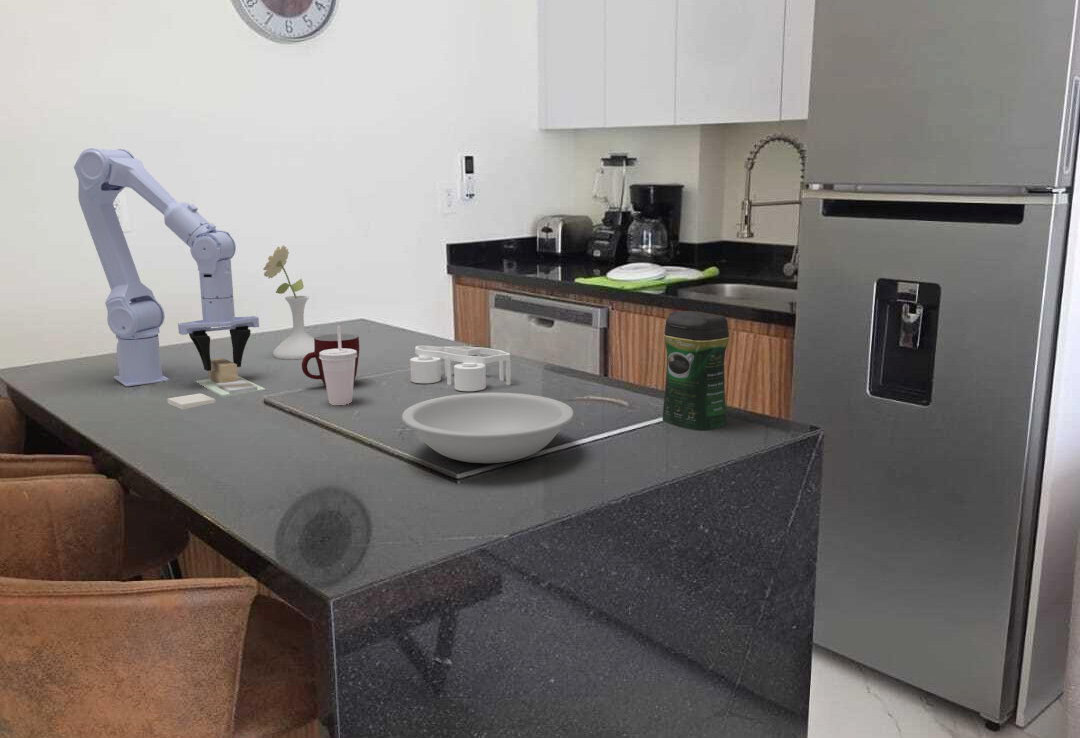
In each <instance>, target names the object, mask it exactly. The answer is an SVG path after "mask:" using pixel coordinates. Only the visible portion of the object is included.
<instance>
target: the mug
mask: <svg viewBox="0 0 1080 738" xmlns="http://www.w3.org/2000/svg"><path fill="white" fill-rule="evenodd" d="M313 338H314V352H311V353H308V354H307V355H306V356H305V357H304V359H302V362H301V370H302V372H303V374H304V375H305V376H306V377H308V378H310V379H312V380H321V381H322V383H323V384H324V386H325V387H326V382H325V377H324V371H323V366H322V360H321V359H319V357H320V355H319V353H320V352H321V351H323V350H328V349H338V333H329V334H327V333H326V334H322V335H321V334H320V335H317V336H315V337H313ZM341 346H342V348H346V349H354V350H356V351H357V357H356V358H355V370H354V381H355V380H356V377H357V373H358V372H357V371H358V364H359V357H360V337H359V335H357V334H352V333H341ZM311 359H316V364H317V367H318V371H319V372H318V373H319V374H312V373H311V372H310V371H309V370H308V364H309V362H310V360H311Z"/></svg>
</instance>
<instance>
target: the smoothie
mask: <svg viewBox="0 0 1080 738" xmlns="http://www.w3.org/2000/svg"><path fill="white" fill-rule="evenodd" d="M341 327H342V326H341V325H337V326H336V328H337V329H336V330H337V334H338V349H328V350H323V351H321V352H320V353H319V355H320V357H319V359H321V360H322V366H323V371H324V377H325V382H326V386H325V388H326V393H327V398H328V404H329V403H330V404H332V405H343V406H347V405H346V404H348V405H350V404H349V403H351V402H352V403H353V394H354V384H355V383H354V382H355V380H354V370H355V358H356V357H357V351H356V350H354V349H346V348H342V346H341V334H342V331H341V330H342V329H341ZM352 403H351V404H352ZM330 404H329V405H330ZM332 405H331V406H332Z"/></svg>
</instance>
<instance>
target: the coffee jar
mask: <svg viewBox="0 0 1080 738" xmlns="http://www.w3.org/2000/svg"><path fill="white" fill-rule="evenodd" d="M665 320H666V321H665V327H664V332H663V333H664V335H663V337H664V343H665V348H666V372H665V385H664V386H665V389H664V397H663V407H662V408H663V409H662V421H663V422H664V423H666V424H669V425H671V426H675V427H678V428H682V429H686V430H690V431H699V432H700V431H710V430H714V429H718V428H722V427H723V426H725V425H727V405H726V404H727V403H726V388H725V385H726V384H725V358H726V350H727V347H728V343H729V341H730V337H729V336H730V334H729V321H728V319H727V318H726V317H725V316H724V315H721V314H713V313H708V312H703V311H695V310H694V311H693V310H685V311H683V310H682V311H677V312H676V311H674V312H670V313H669V314H668V316H667V317H666V319H665Z"/></svg>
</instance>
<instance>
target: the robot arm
mask: <svg viewBox="0 0 1080 738" xmlns="http://www.w3.org/2000/svg"><path fill="white" fill-rule="evenodd" d="M73 169H74V172H75V174H76V177H77V180H78V192H77V193H78V197H77V198H78V202H79V206H80V208H81V211H82V213H83V216H84V220H85V222H86V225H87V227H88V231H89V233H90V236H91V239H92V242H93V244H94V247H95V250H96V253H97V256H98V258H99V260H100V263H101V266H102V269H103V272H104V274H105V277H106V280H107V282H108V286H109V288H110V292H109V294H108V296H107V298H106V300H105V302H104V304H105V307H106V311H107V318H106V320H107V324H108V326H109V329H110V331H111V332H112V333H113V334H114V335H115V338H116V339H117V344H116V356H117V366H118V375H114V376H113V378H114V380H116V381H117V382H119V383H120V384H121V385H123V386H124V387H132V386H141V385H148V384H149V385H150V384H156V383H164V382H163V381H165V382H169V380H170V379H169V378H168V377H166V376H165V375H163V373H162V359H161V349H160V339H159V338H160V337H159V334H160V327H162V326H163V324H164V323H165V311H164V307H163V306H162V304H161V303H160V302H159V301H158V300H157V299H156V297H155V295H154V292H153V291H152V289H151V288H149V287H147V285H145V284H144V283H143V282H142V281H141V279H140V276H139V272H138V271H137V268H136V265H135V262H134V259H133V256H132V254H131V251H130V249H129V248H130V247H129V246H128V242H127V238H126V237H125V234H124V230H123V229H122V228H123V227H122V226H121V223H120V220H119V217H118V214H117V212H116V209H115V206H114V203H115V201H116V200H117V197H118V195H119V194H120V193H121V192H122V191H123V190H125V188H129V189H132V190H133V191H134V192H135V193H136V194H138V196H140V197H141V198H143V199H144V200H145V201H146V202H147V203H149V204H150V205H151V206H152V207H153V208H155V209H156V210H157V211H158V212H160V213H161V214H162V215H163V216H164V217H163V218H164V220H163V221H164V224H165V226H166V227H167V228H168V229H169V230H171V232H173V234H175V235H176V237H178V238H179V239H180V240H181V241H183V243H184V244H186V245H187V246H188V247H189V248H190V249H189V250H190V255H191V256H192V258H193V261H195V262H196V265H197V271H198V272H199V273H198V274H199V287H200V301H201V312H202V313H201V314H202V319H200V320H194V321H193V320H192V321H187V322H180V323H179V322H178V324H177V326H178V334H179V335H181V336H186V335H189V338H190V340H191V341H192V343H193V345H194V346H195V348H196V350H197V353H198V355H199V356H200V359H201V362H202V365H203V370H204V371H207V372H209V371H211V359H212V358H211V352H210V351H211V336H209V335H208V333H207V332H217V331H226V330H228V331H229V334H230V340H231V346H232V362H233V363H235V364H237V368H241V367H242V362H243V361H242V360H243V355H244V352H245V348H246V345H247V342H248V341H249V338H250V336H251V334H252V333H251V332H252V331H251V329H249V328H259V327H260V320H259V316H256V315H251V316H235V315H236V314H235V302H234V301H235V300H234V287H233V286H234V285H233V275H232V274H233V273H232V261H231V260H232V258H234V256H235V254H236V242H235V240H234V238H233V237H232V236H231V234H230V233H229V232H228V231H226V230H221V229H220V230H219V229H216V228H217V225H215V224H214V223H211V222H209V221H208V220H207V219H206V218H205V217H203V215H201V214H200V212H198V209H199V208H198V207H197V206H196V205H195V204H189V203H188V202H186V201H185V202H179V201H177V200H176V199H175V198H174V197H173V196H172V195H171V194H170V193H169V192H168V191H167V190H166V189H165V188H164V187H163V186H162V185H161V184H160V182H158V181H157V180H156V179H155V177H154V176H152V174H151V173H150V172H148V170H147V169H146V168H145V166H144V164H143V162H142V161H141V160H140V159H138V158H137V157H135V155H133V153H131V152H130V150H126V149H121V148H120V149H119V148H118V149H100V148H94V147H93V148H91V147H89V148H86V149H84V150H83V151H82V152H81V153H80V154H79V156H78V158H77V160H76V162H75V164H74V165H73Z"/></svg>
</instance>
